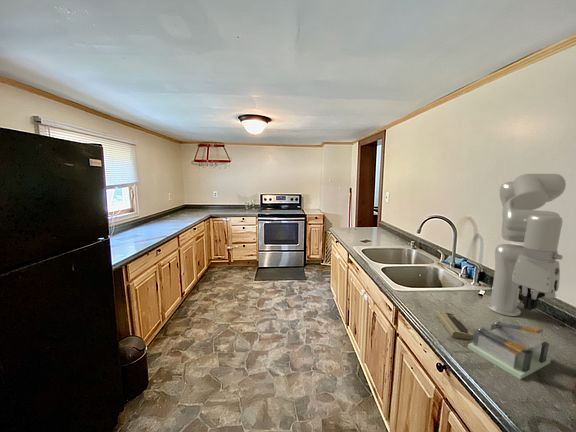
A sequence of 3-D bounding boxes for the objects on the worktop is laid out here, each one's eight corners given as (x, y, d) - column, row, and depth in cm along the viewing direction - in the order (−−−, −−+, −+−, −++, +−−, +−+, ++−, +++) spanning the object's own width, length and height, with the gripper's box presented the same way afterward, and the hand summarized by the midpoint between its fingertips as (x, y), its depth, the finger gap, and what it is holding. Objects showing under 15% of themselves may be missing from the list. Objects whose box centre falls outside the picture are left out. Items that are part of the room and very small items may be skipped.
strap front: (481, 330, 95) (481, 327, 95) (527, 351, 82) (527, 348, 82) (477, 331, 94) (477, 328, 94) (522, 353, 81) (523, 350, 81)
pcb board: (496, 335, 102) (497, 332, 101) (550, 363, 87) (551, 359, 87) (467, 347, 95) (468, 344, 94) (520, 379, 80) (520, 375, 80)
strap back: (498, 324, 99) (497, 321, 99) (543, 332, 86) (542, 328, 86) (494, 326, 98) (493, 323, 98) (539, 334, 85) (538, 330, 85)
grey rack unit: (497, 334, 100) (500, 318, 99) (549, 359, 87) (552, 342, 86) (471, 344, 94) (473, 328, 93) (522, 374, 80) (525, 355, 79)
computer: (474, 340, 100) (475, 332, 99) (451, 338, 101) (452, 330, 100) (455, 318, 115) (455, 311, 114) (435, 316, 116) (436, 309, 116)
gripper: (578, 259, 74) (566, 317, 77) (517, 246, 88) (509, 295, 91) (565, 263, 71) (553, 323, 75) (503, 248, 85) (496, 300, 88)
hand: (529, 308), depth 83 cm, fingers closed
